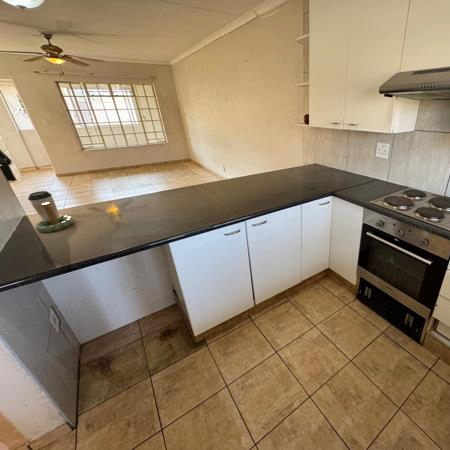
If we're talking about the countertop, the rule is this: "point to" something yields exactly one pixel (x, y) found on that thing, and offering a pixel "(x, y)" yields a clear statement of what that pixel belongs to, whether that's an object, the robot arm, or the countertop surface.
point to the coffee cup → (42, 198)
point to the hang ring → (44, 224)
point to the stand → (50, 213)
